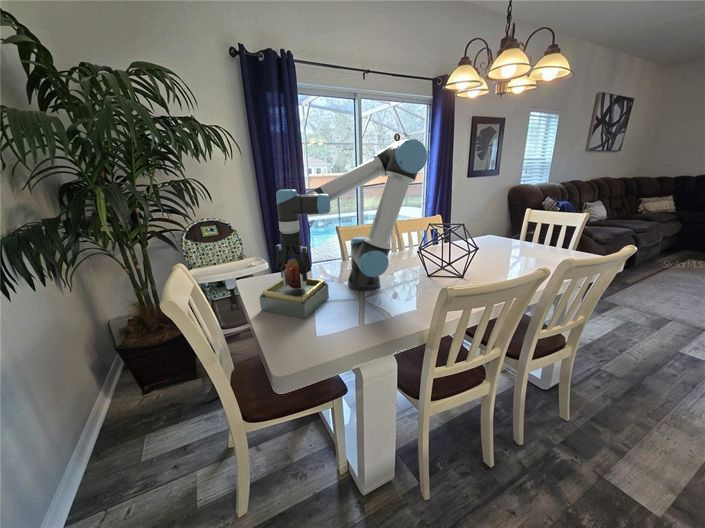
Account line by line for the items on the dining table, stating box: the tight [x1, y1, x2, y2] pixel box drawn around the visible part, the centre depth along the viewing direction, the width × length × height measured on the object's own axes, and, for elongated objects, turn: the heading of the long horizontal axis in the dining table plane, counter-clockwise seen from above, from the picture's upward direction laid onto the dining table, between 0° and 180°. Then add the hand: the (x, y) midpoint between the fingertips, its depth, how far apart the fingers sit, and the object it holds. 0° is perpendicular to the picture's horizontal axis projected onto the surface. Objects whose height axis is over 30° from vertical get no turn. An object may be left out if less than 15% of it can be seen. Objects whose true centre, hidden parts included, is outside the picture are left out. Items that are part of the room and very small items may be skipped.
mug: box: [284, 258, 302, 288], centre depth 115 cm, size 12×9×10 cm
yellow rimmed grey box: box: [258, 277, 329, 320], centre depth 118 cm, size 23×20×9 cm
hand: (295, 286), depth 116 cm, fingers closed on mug, 7 cm apart
